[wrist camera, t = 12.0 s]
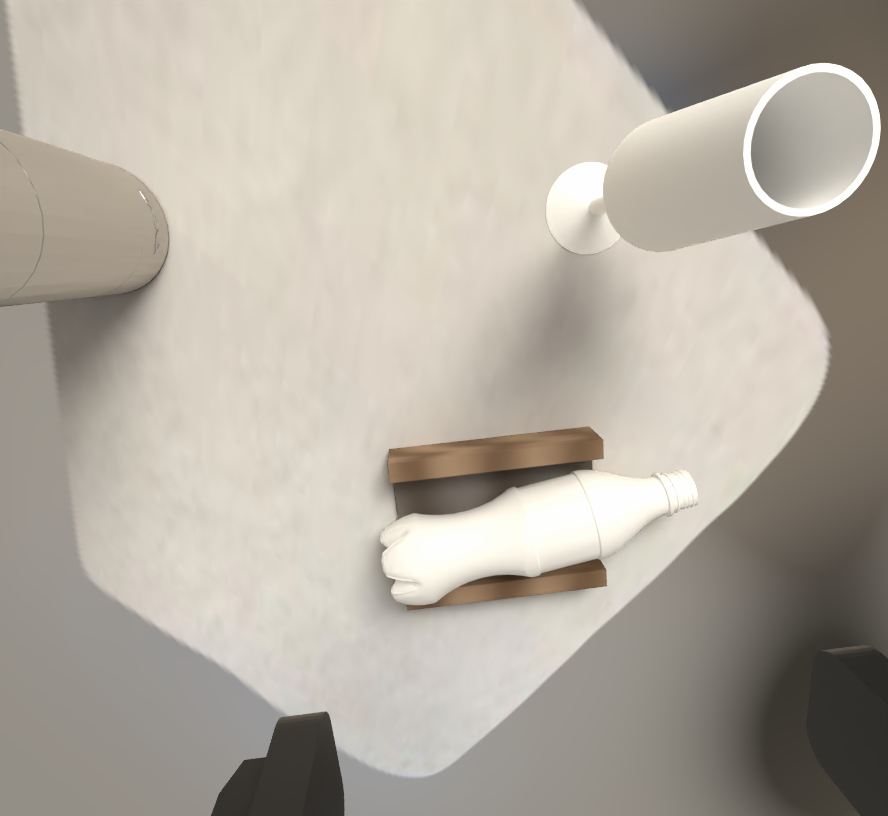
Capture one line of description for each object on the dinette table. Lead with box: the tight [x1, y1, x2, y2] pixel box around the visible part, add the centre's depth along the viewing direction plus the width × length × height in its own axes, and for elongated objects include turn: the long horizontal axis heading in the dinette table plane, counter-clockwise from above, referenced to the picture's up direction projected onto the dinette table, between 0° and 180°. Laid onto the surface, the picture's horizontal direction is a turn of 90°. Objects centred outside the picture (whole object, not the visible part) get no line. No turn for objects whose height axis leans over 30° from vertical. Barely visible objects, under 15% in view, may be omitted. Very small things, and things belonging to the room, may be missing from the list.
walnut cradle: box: [388, 427, 607, 610], centre depth 46 cm, size 17×13×4 cm
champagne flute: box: [546, 63, 881, 255], centre depth 30 cm, size 7×7×24 cm
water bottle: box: [380, 470, 698, 605], centre depth 44 cm, size 7×7×25 cm
